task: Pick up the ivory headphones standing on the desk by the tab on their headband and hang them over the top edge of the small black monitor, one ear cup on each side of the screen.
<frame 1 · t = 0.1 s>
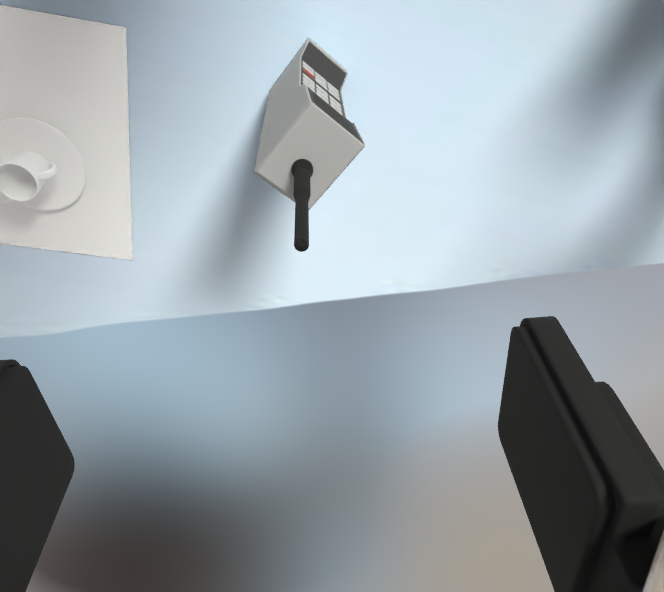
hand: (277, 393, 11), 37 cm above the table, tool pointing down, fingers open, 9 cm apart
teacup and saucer: (2, 137, 45), on the table
vintage mobile phone: (307, 79, 44), on the table
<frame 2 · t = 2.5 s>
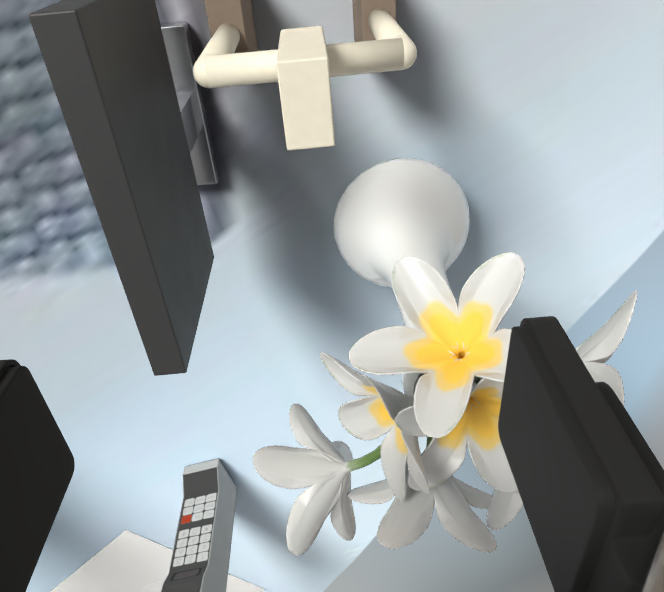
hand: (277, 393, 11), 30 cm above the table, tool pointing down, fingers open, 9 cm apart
headphones: (303, 10, 34), on the table
monitor: (189, 106, 37), on the table
flower vase: (392, 212, 42), on the table
vintage mobile phone: (211, 473, 58), on the table
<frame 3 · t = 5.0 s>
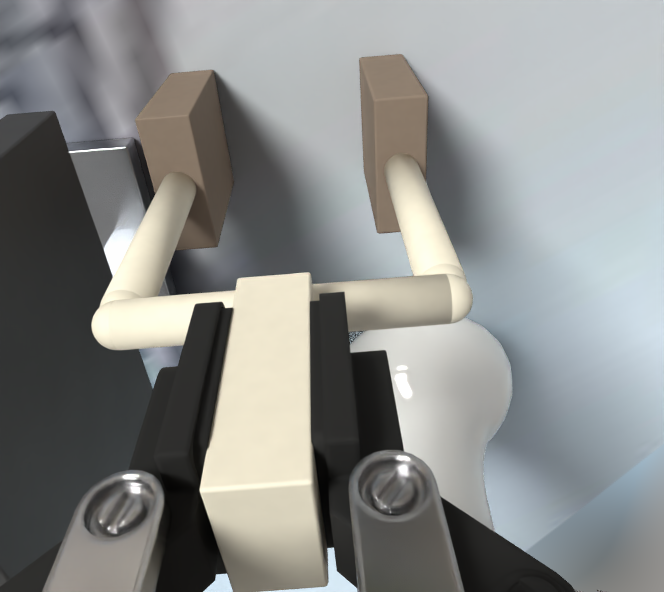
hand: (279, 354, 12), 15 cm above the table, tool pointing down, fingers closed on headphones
headphones: (293, 123, 25), on the table, touching gripper
monitor: (141, 238, 28), on the table
flower vase: (408, 355, 33), on the table
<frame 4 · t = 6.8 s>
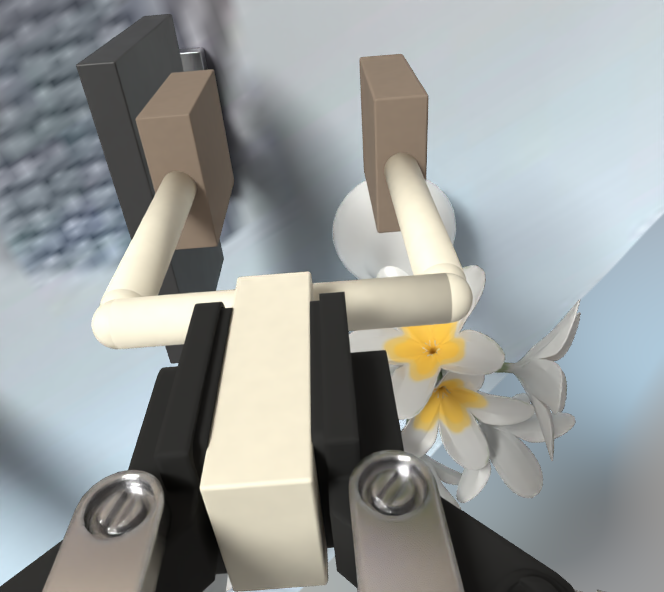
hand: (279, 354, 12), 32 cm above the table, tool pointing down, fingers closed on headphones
headphones: (293, 123, 25), point 16 cm above the table, touching gripper
monitor: (203, 122, 41), on the table
flower vase: (387, 219, 46), on the table
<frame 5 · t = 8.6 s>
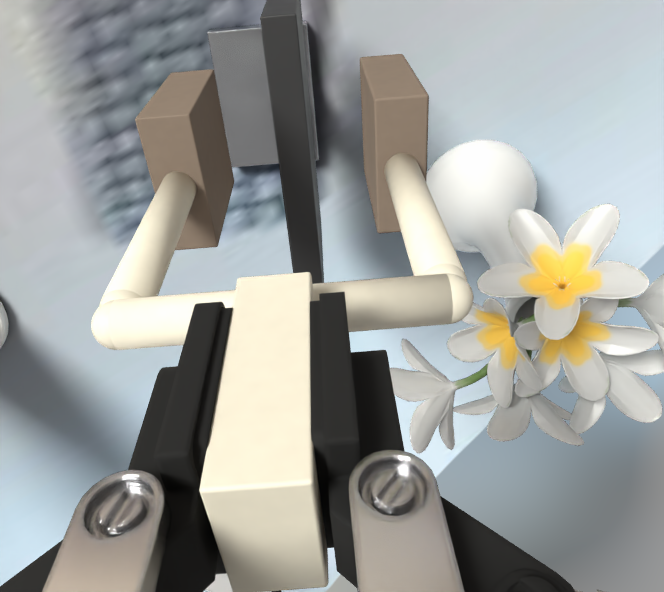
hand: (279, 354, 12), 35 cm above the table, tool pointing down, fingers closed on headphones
headphones: (293, 123, 25), point 20 cm above the table, touching gripper
monitor: (300, 93, 43), on the table
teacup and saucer: (214, 544, 77), on the table
flower vase: (464, 188, 48), on the table
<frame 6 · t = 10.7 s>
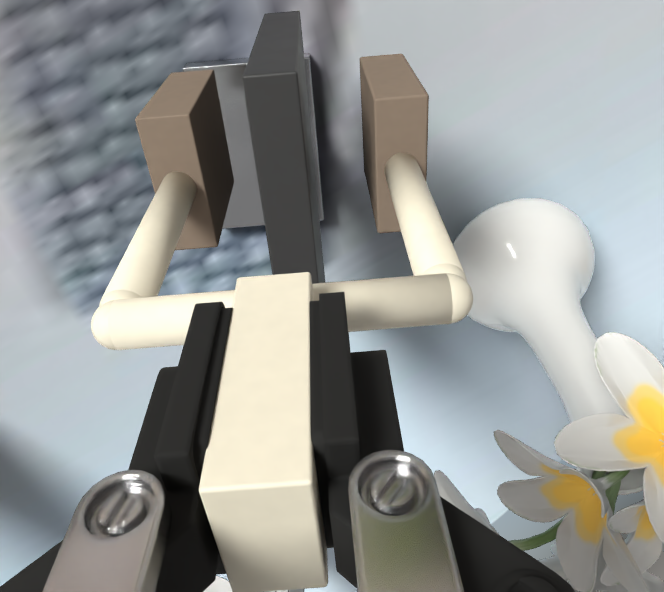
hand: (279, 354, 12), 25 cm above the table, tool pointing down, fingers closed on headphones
headphones: (293, 123, 25), point 9 cm above the table, touching gripper
monitor: (300, 140, 35), on the table
flower vase: (499, 249, 40), on the table
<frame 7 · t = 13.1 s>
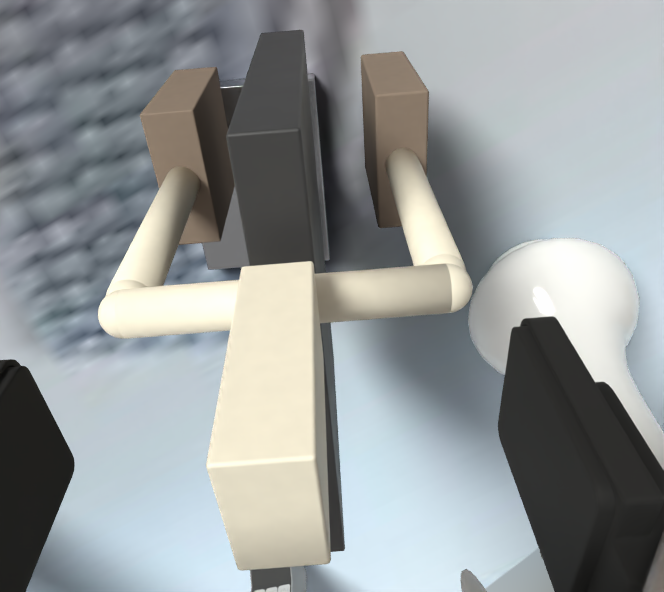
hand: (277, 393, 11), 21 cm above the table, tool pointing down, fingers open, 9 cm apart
headphones: (295, 120, 25), point 4 cm above the table, touching monitor
monitor: (304, 171, 30), on the table
flower vase: (526, 289, 36), on the table
vintage mobile phone: (279, 555, 52), on the table
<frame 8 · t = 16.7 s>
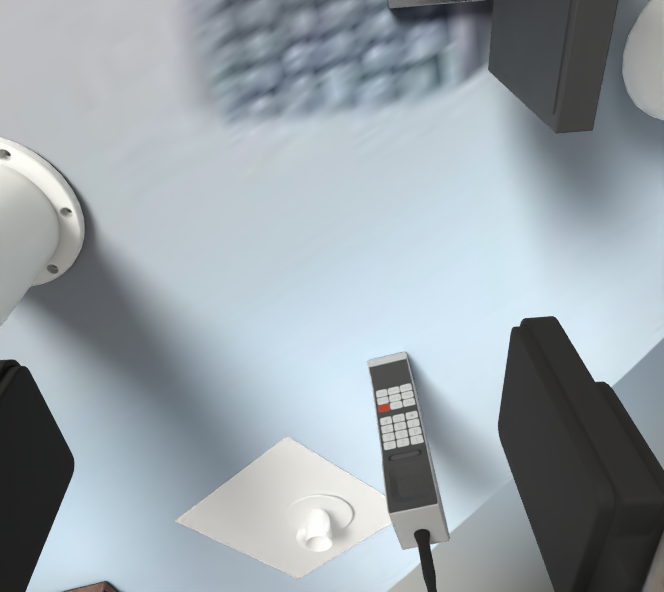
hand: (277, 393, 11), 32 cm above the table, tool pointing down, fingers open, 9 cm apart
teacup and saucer: (293, 514, 68), on the table
vintage mobile phone: (391, 370, 55), on the table
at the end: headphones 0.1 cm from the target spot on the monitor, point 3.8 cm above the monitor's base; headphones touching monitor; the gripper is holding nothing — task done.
